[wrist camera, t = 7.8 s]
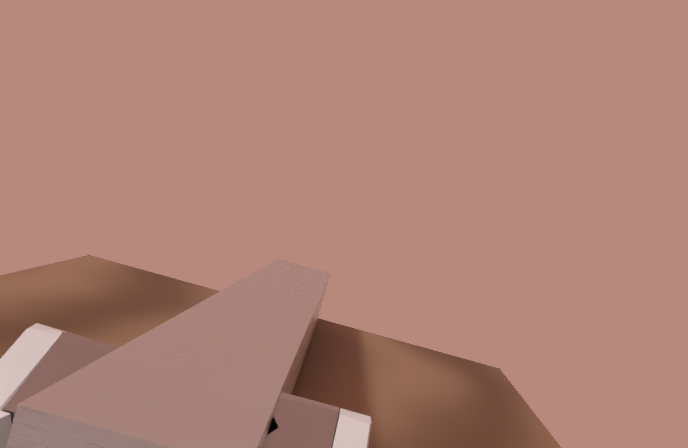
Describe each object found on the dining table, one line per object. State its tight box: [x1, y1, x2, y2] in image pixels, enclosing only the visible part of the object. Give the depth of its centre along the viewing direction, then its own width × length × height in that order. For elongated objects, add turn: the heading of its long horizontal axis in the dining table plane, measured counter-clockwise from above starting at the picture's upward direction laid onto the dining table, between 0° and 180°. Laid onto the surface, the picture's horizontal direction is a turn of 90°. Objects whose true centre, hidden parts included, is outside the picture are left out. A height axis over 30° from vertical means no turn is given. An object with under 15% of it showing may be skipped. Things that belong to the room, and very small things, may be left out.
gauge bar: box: [6, 259, 330, 448], centre depth 17 cm, size 2×22×2 cm, turn 178°
